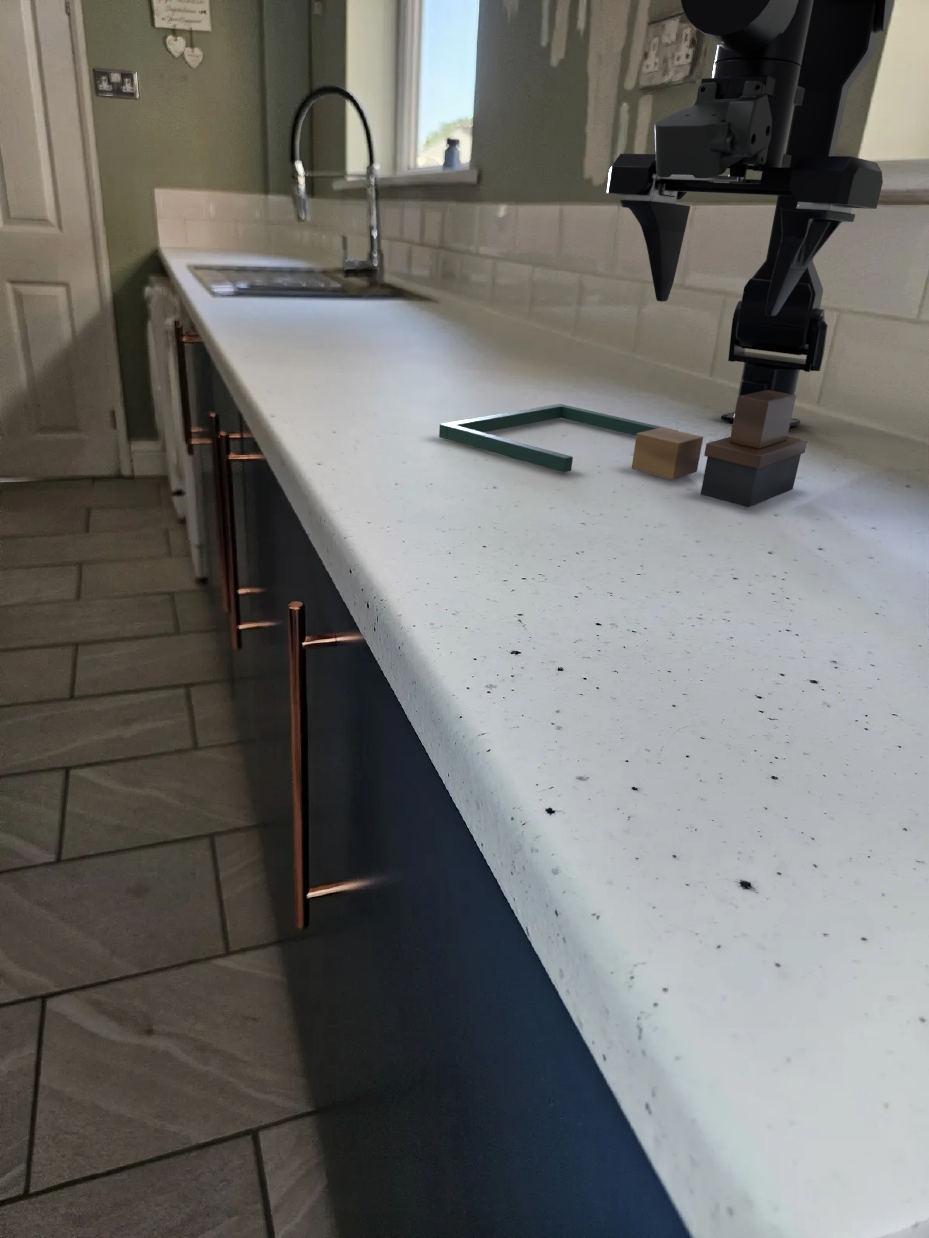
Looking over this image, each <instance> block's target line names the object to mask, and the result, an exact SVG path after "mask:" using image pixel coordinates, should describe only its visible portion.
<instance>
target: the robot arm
mask: <svg viewBox="0 0 929 1238" xmlns="http://www.w3.org/2000/svg"><path fill="white" fill-rule="evenodd" d="M680 2H681V8H682V10H683V12H684V15H685V16H686V19H687V20H688V21H689V22H690V23H691V25H693V27H694V28H695V29H697V31H699V32H701V33H702V34H704V36H706V37H707V38H708V39H710V40H711V41H713V42H714V43H715V44H716V52H715V58H714V63H713V70H712V76H711V77H708V78H707V77H705V78H701V82H700V85H698V88H697V92H696V99H695V102H694V105H693V106H691V107H687V108H684V109H683V108H682V109H680V110H679V111H677V112H675V113H672V114H670V115H669V116H667V117H664V118H662V119H660V120H659V121H656V122H655V123H654V143H655V144H654V146H655V147H654V148H655V153H619V155H618V156H617V157H616V159H615V161H614V162H613V164H611V167H610V168H609V170H608V171H609V172H608V179H607V187H606V194H609V195H617V196H625V199H619V203H620V206H621V208H624V209H629V210H630V212H631V213H632V214H633V216H634V217H635V219H636V221H637V222H638V224H639V226H640V229H641V231H642V235H643V238H644V242H645V245H646V250H647V255H648V262H649V266H650V272H651V279H652V283H653V284H652V285H653V289H654V295H655V299H656V301H657V302H663V303H664V302H667V301H668V299H669V297H670V294H671V290H672V288H673V285H674V282H675V278H676V273H677V268H678V264H679V260H680V255H681V250H682V246H683V240H684V237H685V232H686V229H687V223H688V219H689V214H690V210H691V205H687V204H680V203H679V204H677V200H678V201H679V200H681V199H683V197H684V196H685V195H686V194H687V193H701V194H702V193H703V194H724V195H725V194H726V195H747V196H749V195H751V196H773V197H774V196H775V197H777V199H776V204H775V208H774V214H773V220H772V226H771V230H770V236H769V242H768V248H767V253H766V258H765V261H764V262H763V263H762V265H761V266H759V268H758V270H757V271H756V272H755V273H754V274H753V276H752V277H751V278H749V279H748V281H747V282H746V284H745V285H744V287H743V292H742V296H741V300H739V301H738V302H737V303H736V306H735V309H734V312H733V316H732V321H731V329H730V338H729V339H730V341H729V349H728V358H727V359H728V360H727V361H728V362H730V363H734V362H737V363H743V368H742V373H741V378H740V381H739V382H740V383H739V386H738V387H739V388H738V392H737V398H736V402H735V403H736V404H735V409H734V411H732V412H728V413H724V414H721V415H720V420H722V421H725V422H726V421H727V422H731V423H733V421H734V416H735V411H736V406H737V401H738V397H739V396H741V395H746V394H751V393H756V392H761V391H765V390H771V391H776V392H782V393H787V394H793V395H796V389H797V384H798V382H799V381H798V380H799V376H800V372H801V371H803V372H805V373H806V372H807V373H810V372H820V371H821V368H822V364H823V360H824V355H825V351H826V343H827V334H828V327H829V326H828V324H827V322H826V318H825V309H824V308H821V304H822V299H823V294H824V287H823V284H822V282H821V279H820V276H819V274H818V271H817V269H816V266H815V263H814V258H815V257H816V256H817V254H818V253H819V251H820V250H821V249H822V248H823V246H825V244H826V243H827V241H828V240H829V239H830V238H831V237H832V235H833V234H834V232H835V231H836V230H837V228H839V226H840V225H841V224H842V223H853V222H855V219H856V213H852V211H853V209H864V210H865V209H867V210H876V209H877V207H878V204H879V200H880V195H881V190H882V187H883V183H884V182H883V171H882V169H881V168H880V166H879V164H878V162H875V161H872V160H868V159H863V158H860V157H856V156H851V155H848V156H847V155H846V156H845V155H835V154H836V150H837V145H838V142H839V141H838V140H839V136H840V131H841V126H842V121H843V116H844V111H845V106H846V101H847V96H848V92H849V89H850V88H851V87H852V86H853V84H854V83H855V81H856V80H857V79H858V77H859V76H860V75H861V74H862V72H863V71H864V69H865V68H866V67H867V65H868V64H869V63H870V61H872V59H873V57H874V55H875V53H876V48H877V43H878V40H879V36H880V33H885V31H886V30H887V28H888V25H889V22H890V18H891V13H892V10H893V5H894V0H680ZM787 138H788V139H787ZM726 171H729V172H728V175H723V174H725V173H726ZM748 171H753V172H759V173H761V177H760V179H758V178H756V179H755V178H754V179H753V178H747V173H748ZM746 349H747V350H755V351H763V352H771V353H778V354H785V355H794V356H806V357H805V358H798V357H791V356H783V355H776V354H767V353H760V352H752V351H746ZM801 421H802V420H801V419H798V418H794V417H791V422H790V426H789V428H791V427H796V426H798V425H800V424H801Z"/></svg>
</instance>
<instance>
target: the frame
mask: <svg viewBox="0 0 929 1238" xmlns="http://www.w3.org/2000/svg"><path fill="white" fill-rule="evenodd" d="M557 419H562V420H567V421H571V422H574V423H575V422H576V423H581V424H584V425H589V426H592V427H596V428H601V429H605V430H609V431H614V432H618V433H621V434H626V435H631V436H634V437H636V435H637V433H640V432H644V431H649V430H653V429H657V428H667V429H671V430H674V429H673V428H670V427H669V428H668V427H665V426H664V427H663V426H660V425H655V424H651V423H646V422H642V421H637V420H633V419H630V418H629V419H628V418H624V417H621V416H615V415H611V414H607V413H603V412H598V411H594V410H589V409H584V408H580V407H577V406H576V407H575V406H571V405H566V404H563V403H556V404H551V405H550V404H549V405H544V406H537V407H533V408H527V409H521V410H520V409H519V410H516V411H515V410H513V411H510V412H504V413H497V414H492V415H485V416H480V417H479V416H478V417H473V418H468V419H461V420H456V421H450V422H444V423H439V429H438V430H439V431H438V433H439V434H438V437H439V438H440V439H444V440H448V441H451V442H455V443H458V444H461V445H465V446H468V447H472V448H476V449H479V450H483V451H487V452H490V453H493V454H497V455H500V456H504V457H507V458H510V459H514V460H518V461H521V462H525V463H529V464H532V465H535V466H539V467H543V468H546V469H548V470H549V469H550V470H554V471H556V472H561V473H564V474H565V473H568V472H571V471H572V468H573V460H574V457H573V456H572V455H569V454H565V453H560V452H557V451H553V450H549V449H546V448H542V447H538V446H534V445H531V444H528V443H524V442H519V441H516V440H512V439H508V438H505V437H501V436H497V435H495V434H490V433H488V432H494V431H498V430H504V429H510V428H515V427H521V426H525V425H530V424H531V425H532V424H536V423H541V422H547V421H552V420H557ZM675 430H676V429H675ZM676 431H679V430H676Z"/></svg>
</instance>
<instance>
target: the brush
mask: <svg viewBox="0 0 929 1238" xmlns="http://www.w3.org/2000/svg"><path fill="white" fill-rule="evenodd" d="M737 398H738V401H737V400H736V403H737V406H736V405H735V408H736V411H735V410H734V412H735V416H734V421H733V422H732V427H731V432H730V436H728V437H724V438H720V439H717V440H713V441H710V442H706V443H705V449H704V455H703V456H704V457H706V463H705V467H704V472H703V479H702V482H701V489H700V495H701V496H704V497H707V498H712V499H716V500H718V501H723V502H726V503H729V504H733V505H737V506H741V507H744V508H748V509H749V508H751V507H753V506H756V505H758V504H761V503H763V502H766V501H768V500H771V499H773V498H775V497H777V496H780V495H783V494H785V493H787V492H790V491H793V490H794V485H795V482H796V477H797V473H798V469H799V464H800V462H801V461H800V460H801V455H802V454H804V453H806V449H807V445H808V440H807V439H802V438H801V439H800V438H797V437H792V436H788V435H789V430H790V427H789V426H790V422H791V418H793V412H794V408H795V403H796V399H797V395H796V394H794V395H793V394H787V393H782V392H776V391H771V390H765V391H761V392H756V393H751V394H746V395H741V396H739V397H738V396H737Z"/></svg>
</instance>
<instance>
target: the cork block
mask: <svg viewBox="0 0 929 1238" xmlns="http://www.w3.org/2000/svg"><path fill="white" fill-rule="evenodd" d="M667 428H668V427H665V428H657V429H653V430H649V431H644V432H640V433H637V435H636V436H635V444H634V449H633V455H632V463H631V469H632V470H636V471H639V472H642V473H643V472H644V473H647V474H650V475H654V476H659V477H663V478H666V479H670V480H676V479H680V478H683V477H685V476H688V475H691V474H694V473H697V472H698V469H699V463H700V457H701V453H702V446H703V440H704V436H701V435H697V434H694V433H689V432H684V431H679V430H678V431H676V429H673V430H671V429H672V428H669V429H667Z"/></svg>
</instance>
